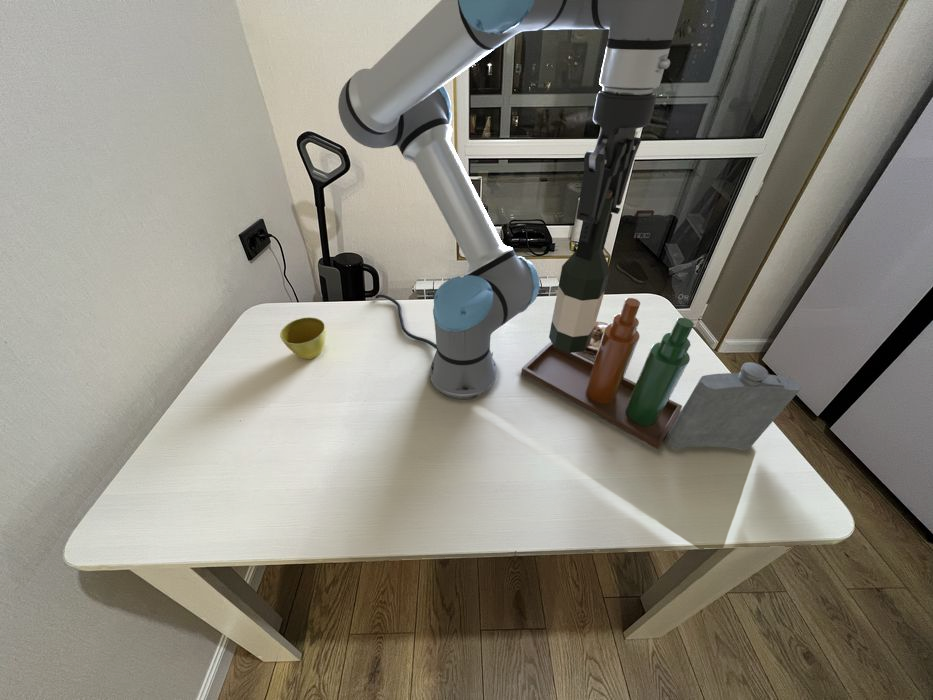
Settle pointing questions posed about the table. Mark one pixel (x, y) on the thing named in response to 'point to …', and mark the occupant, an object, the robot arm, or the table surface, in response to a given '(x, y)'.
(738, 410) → the hip flask
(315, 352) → the flower pot
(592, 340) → the bowl of food
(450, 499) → the table surface
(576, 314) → the wine bottle
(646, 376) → the green bottle
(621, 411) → the tray
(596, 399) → the amber bottle
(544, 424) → the table surface
